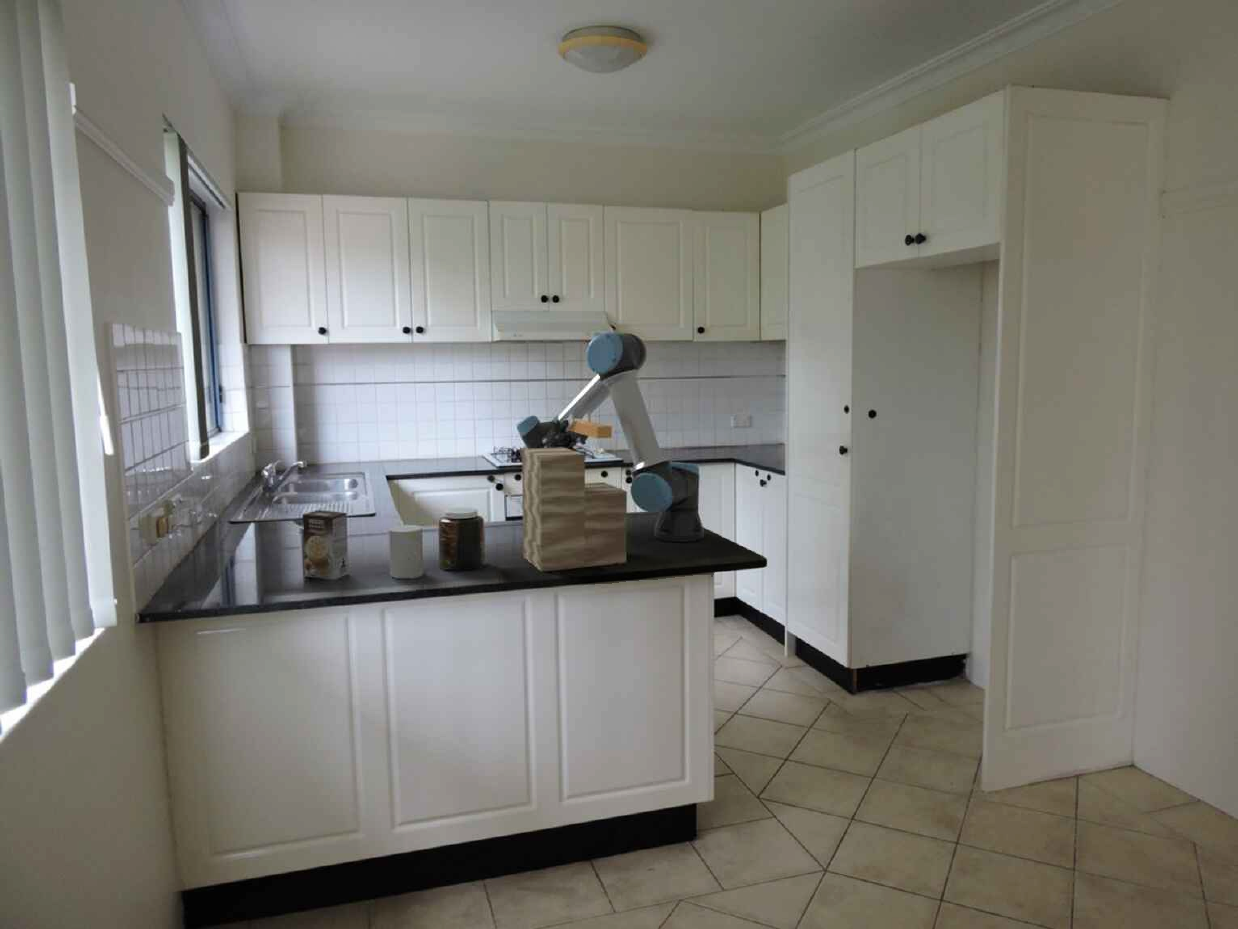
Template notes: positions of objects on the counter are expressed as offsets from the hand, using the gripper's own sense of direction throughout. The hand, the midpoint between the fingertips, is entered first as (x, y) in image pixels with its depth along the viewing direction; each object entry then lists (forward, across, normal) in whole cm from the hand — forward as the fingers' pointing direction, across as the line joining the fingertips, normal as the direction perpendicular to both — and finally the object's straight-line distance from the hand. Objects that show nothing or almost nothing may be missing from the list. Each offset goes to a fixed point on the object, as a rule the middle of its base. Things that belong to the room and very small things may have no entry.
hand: (581, 417), depth 237 cm
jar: (-15, +36, -36) cm, 52 cm away
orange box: (+2, 0, -6) cm, 6 cm away
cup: (-12, +50, -37) cm, 64 cm away
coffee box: (-18, +69, -34) cm, 79 cm away
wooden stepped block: (-11, +6, -38) cm, 40 cm away
